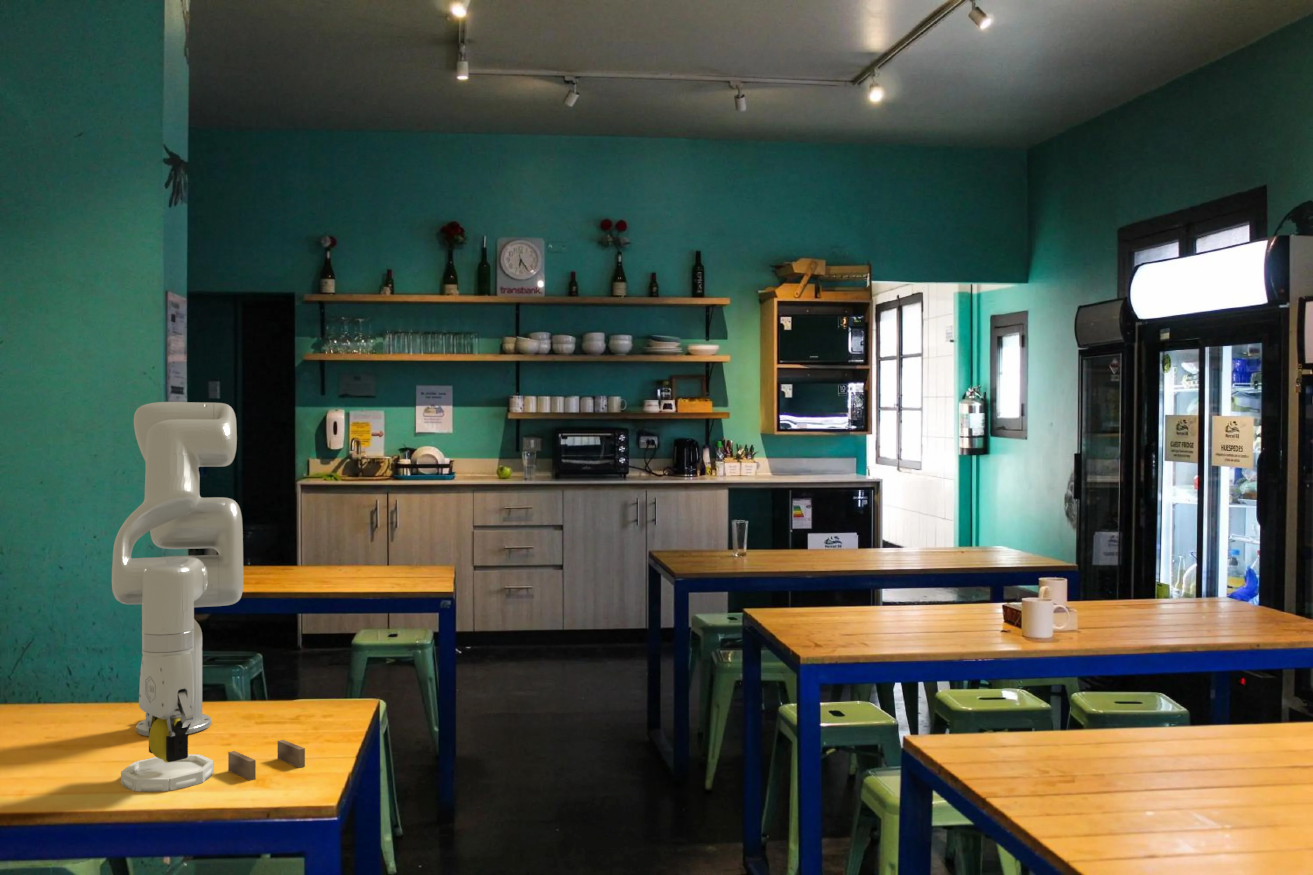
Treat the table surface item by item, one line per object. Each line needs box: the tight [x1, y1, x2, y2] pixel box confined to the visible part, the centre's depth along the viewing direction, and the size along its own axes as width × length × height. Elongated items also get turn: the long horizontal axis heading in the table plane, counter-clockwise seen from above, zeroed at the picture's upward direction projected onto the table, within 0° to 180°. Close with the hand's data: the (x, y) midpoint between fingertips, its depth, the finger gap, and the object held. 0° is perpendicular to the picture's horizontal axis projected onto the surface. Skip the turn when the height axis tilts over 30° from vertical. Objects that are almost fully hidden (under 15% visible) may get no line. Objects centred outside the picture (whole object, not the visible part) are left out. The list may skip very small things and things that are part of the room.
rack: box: [227, 739, 306, 781], centre depth 179 cm, size 7×10×3 cm
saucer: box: [120, 753, 215, 793], centre depth 174 cm, size 13×13×2 cm
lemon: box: [148, 715, 180, 763], centre depth 174 cm, size 6×6×8 cm
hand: (168, 754), depth 174 cm, fingers closed on lemon, 5 cm apart
